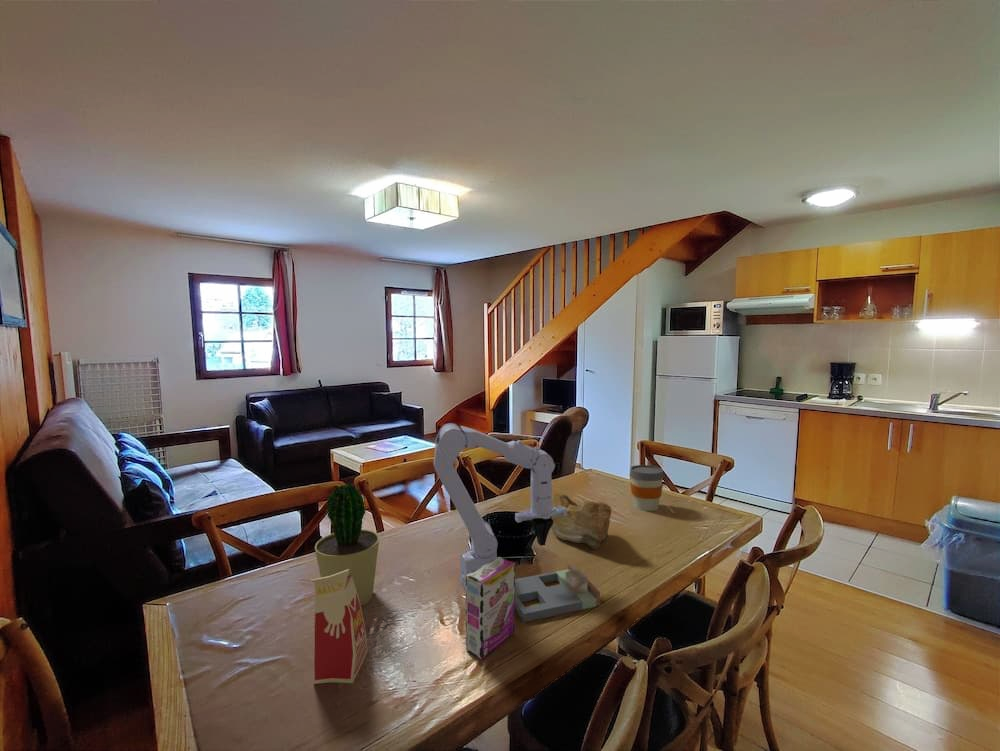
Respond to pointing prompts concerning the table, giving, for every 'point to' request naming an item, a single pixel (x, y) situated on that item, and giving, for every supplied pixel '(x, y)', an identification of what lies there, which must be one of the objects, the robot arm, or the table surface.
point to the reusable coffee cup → (646, 486)
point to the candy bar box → (489, 606)
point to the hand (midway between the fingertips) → (541, 543)
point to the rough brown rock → (581, 521)
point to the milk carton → (338, 630)
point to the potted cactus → (349, 542)
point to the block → (576, 582)
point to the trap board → (551, 596)
